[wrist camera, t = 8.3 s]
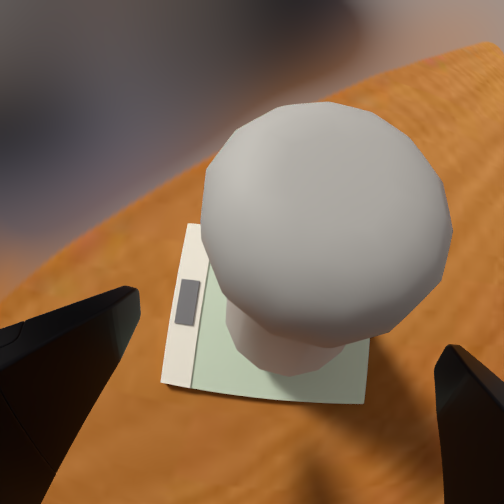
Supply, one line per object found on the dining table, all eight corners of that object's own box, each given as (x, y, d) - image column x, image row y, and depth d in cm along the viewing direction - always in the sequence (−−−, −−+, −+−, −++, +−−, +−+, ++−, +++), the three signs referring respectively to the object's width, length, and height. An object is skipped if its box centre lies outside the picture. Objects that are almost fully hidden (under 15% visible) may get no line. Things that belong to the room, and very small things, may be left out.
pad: (361, 403, 15) (364, 404, 14) (163, 382, 16) (160, 382, 15) (370, 244, 18) (372, 240, 17) (189, 226, 19) (187, 222, 18)
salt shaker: (351, 279, 17) (488, 109, 5) (328, 384, 15) (497, 419, 3) (247, 254, 18) (214, 40, 6) (217, 356, 16) (75, 322, 4)
